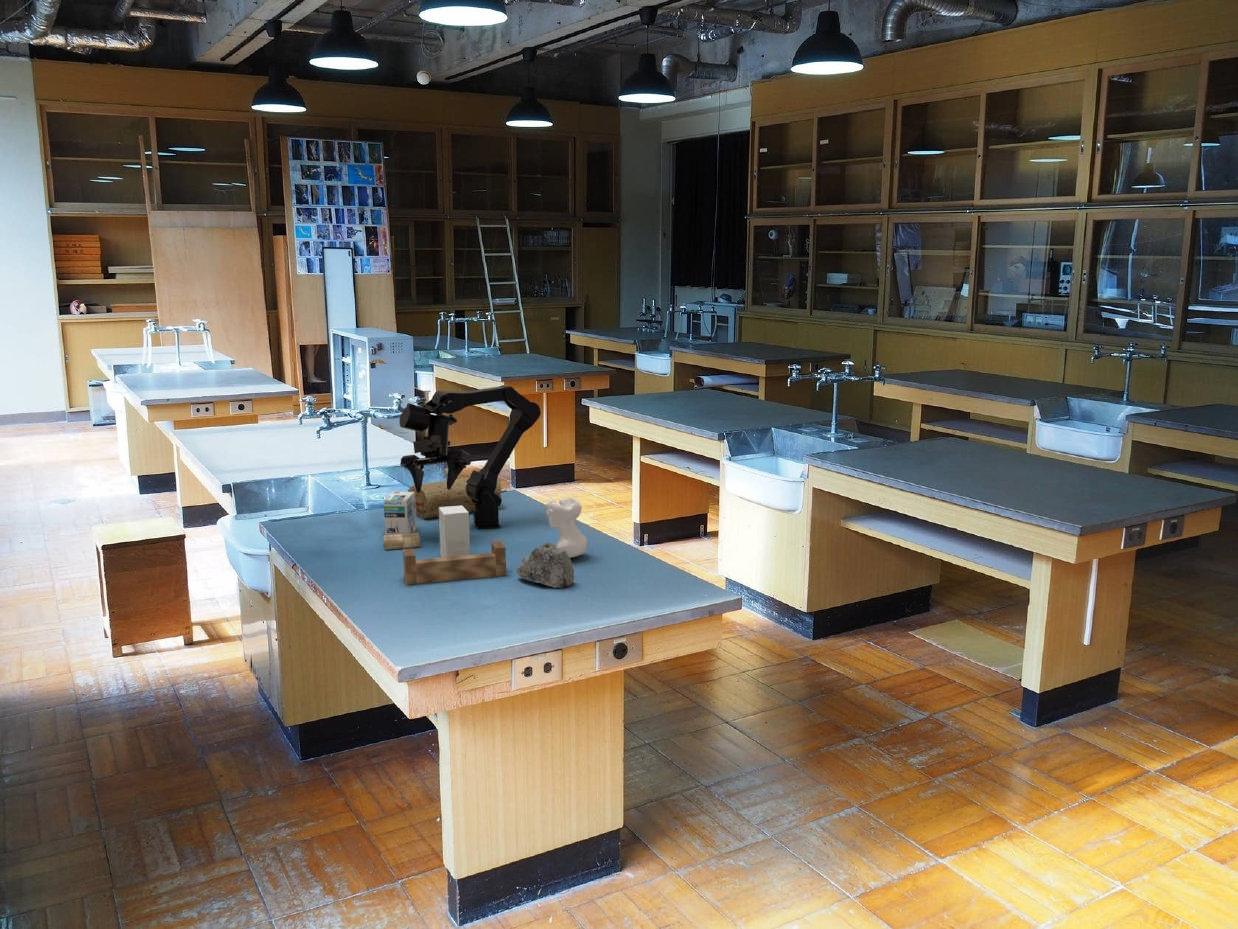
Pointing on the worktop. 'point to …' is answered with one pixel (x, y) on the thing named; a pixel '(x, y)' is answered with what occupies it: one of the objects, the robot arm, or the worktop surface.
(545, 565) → the mineral rock
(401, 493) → the light bulb box
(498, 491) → the core sample
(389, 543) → the roller
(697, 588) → the worktop surface
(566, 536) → the white bust sculpture
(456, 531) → the small box
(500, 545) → the stop rail
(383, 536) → the roller
